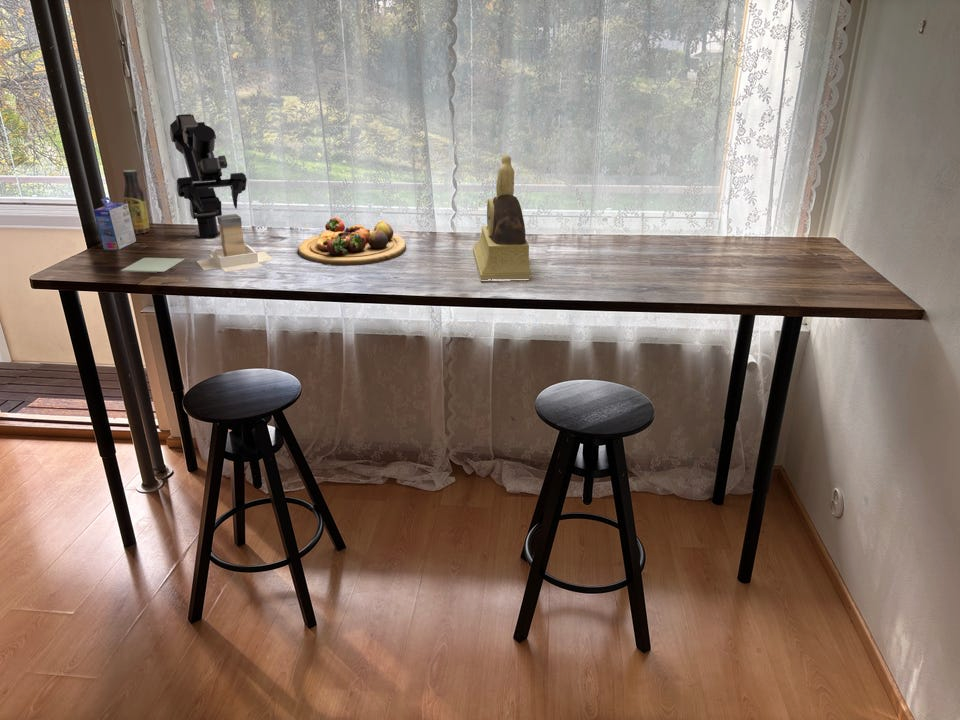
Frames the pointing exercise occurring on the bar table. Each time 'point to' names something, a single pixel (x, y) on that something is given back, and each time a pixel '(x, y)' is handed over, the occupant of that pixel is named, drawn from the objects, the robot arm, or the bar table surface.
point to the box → (231, 234)
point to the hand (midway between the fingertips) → (219, 209)
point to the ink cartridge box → (114, 225)
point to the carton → (234, 260)
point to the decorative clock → (503, 233)
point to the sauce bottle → (135, 202)
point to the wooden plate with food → (352, 244)
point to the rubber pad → (152, 265)
